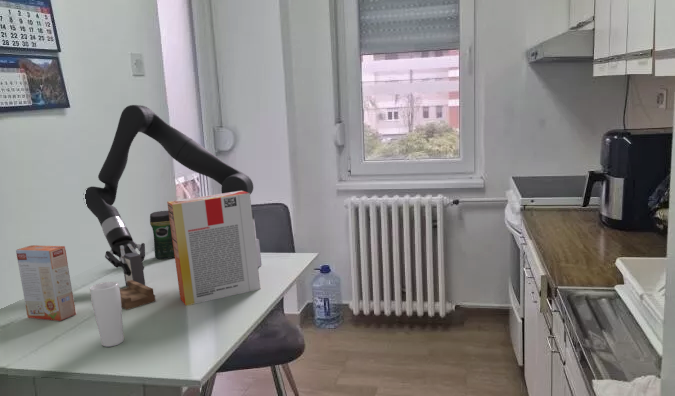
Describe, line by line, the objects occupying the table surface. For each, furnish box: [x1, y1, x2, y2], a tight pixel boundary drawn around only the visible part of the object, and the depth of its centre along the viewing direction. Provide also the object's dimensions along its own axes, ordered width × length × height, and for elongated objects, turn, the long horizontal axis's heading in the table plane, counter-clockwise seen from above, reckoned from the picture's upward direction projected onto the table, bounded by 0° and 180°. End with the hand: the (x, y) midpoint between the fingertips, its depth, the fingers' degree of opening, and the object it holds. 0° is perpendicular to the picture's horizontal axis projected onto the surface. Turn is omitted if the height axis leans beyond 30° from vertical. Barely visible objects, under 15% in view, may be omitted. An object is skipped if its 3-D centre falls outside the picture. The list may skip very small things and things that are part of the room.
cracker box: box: [15, 244, 77, 322], centre depth 169 cm, size 14×6×21 cm, turn 65°
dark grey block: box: [123, 252, 146, 287], centre depth 193 cm, size 8×4×11 cm, turn 42°
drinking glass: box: [89, 281, 125, 348], centre depth 144 cm, size 7×7×15 cm
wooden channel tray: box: [119, 280, 156, 311], centre depth 179 cm, size 16×9×4 cm, turn 42°
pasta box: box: [166, 191, 261, 306], centre depth 176 cm, size 23×8×30 cm, turn 116°
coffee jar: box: [149, 210, 175, 260], centre depth 230 cm, size 10×8×19 cm
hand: (135, 272), depth 192 cm, fingers closed on dark grey block, 3 cm apart
